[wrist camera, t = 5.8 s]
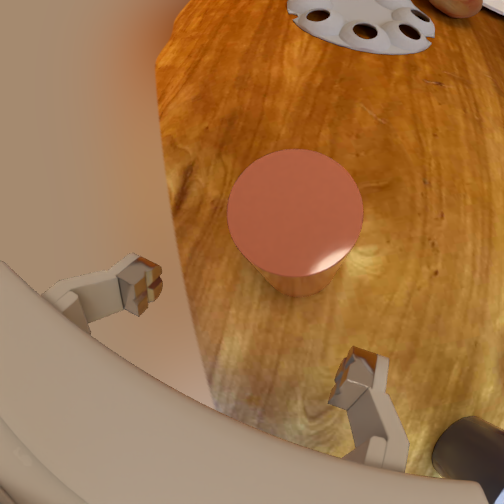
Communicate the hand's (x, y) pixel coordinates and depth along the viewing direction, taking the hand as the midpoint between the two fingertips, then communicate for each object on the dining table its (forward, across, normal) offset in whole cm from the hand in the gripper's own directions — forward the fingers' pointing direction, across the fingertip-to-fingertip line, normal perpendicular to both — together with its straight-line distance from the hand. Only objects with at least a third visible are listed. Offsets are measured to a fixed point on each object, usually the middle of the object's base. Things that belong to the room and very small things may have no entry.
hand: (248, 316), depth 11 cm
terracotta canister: (+10, 0, +4) cm, 11 cm away
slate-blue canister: (+3, -19, +10) cm, 22 cm away
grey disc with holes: (+34, +2, -19) cm, 39 cm away
